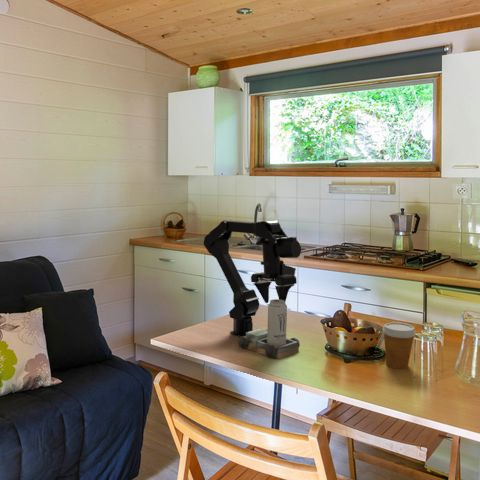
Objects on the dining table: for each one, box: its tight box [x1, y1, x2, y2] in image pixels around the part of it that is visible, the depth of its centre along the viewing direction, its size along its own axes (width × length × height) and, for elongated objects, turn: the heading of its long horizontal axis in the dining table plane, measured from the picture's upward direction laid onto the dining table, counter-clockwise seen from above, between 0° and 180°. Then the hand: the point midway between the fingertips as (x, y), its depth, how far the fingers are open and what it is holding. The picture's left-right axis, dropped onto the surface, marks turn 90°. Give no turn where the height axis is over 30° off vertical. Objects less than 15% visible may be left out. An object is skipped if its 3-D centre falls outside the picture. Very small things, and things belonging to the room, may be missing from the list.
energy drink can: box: [267, 298, 288, 347], centre depth 170 cm, size 6×6×15 cm
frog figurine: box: [376, 332, 385, 349], centre depth 176 cm, size 6×7×7 cm
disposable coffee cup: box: [382, 322, 416, 370], centre depth 161 cm, size 10×10×12 cm
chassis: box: [237, 328, 301, 360], centre depth 174 cm, size 17×12×4 cm
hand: (274, 304), depth 179 cm, fingers open, 9 cm apart
